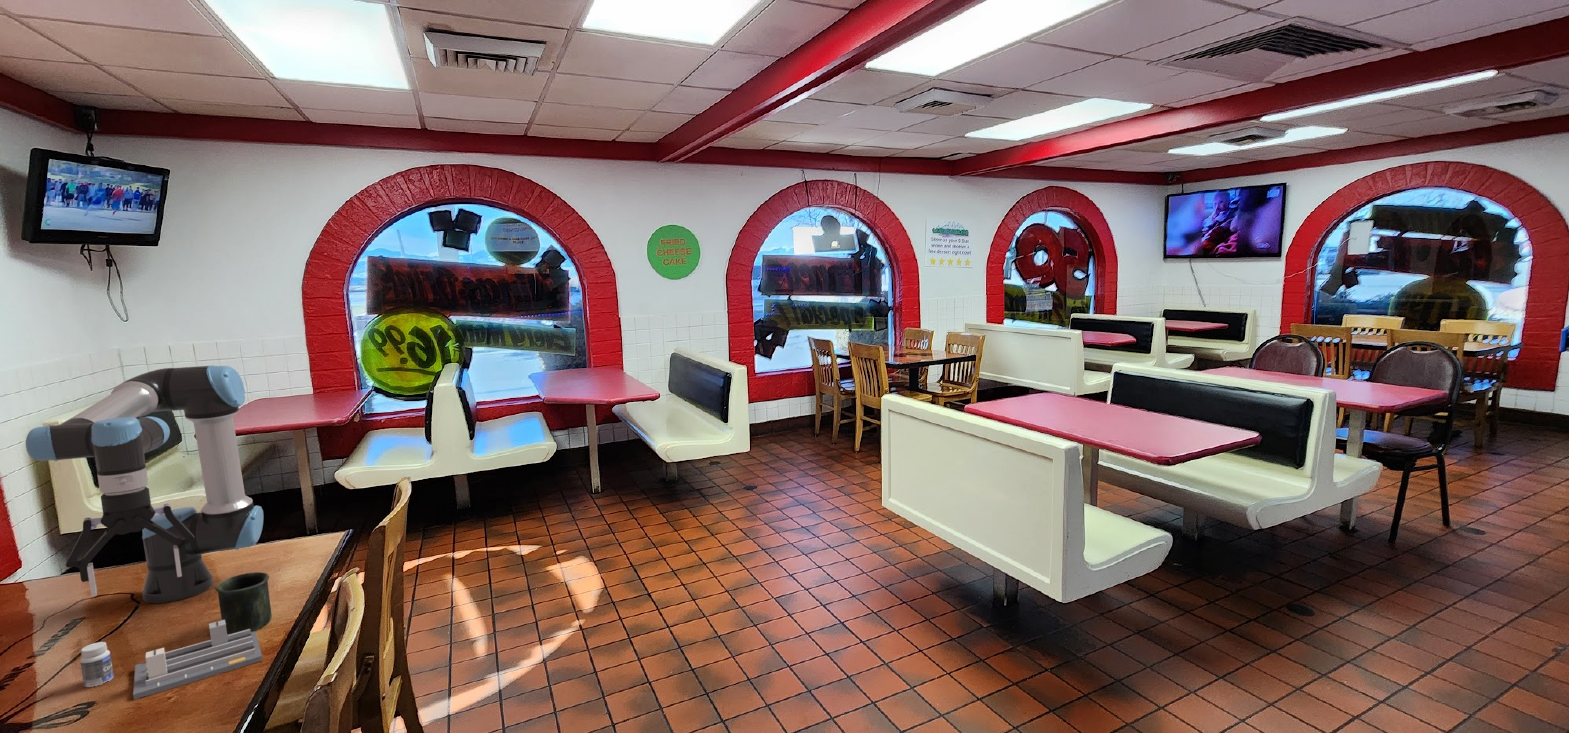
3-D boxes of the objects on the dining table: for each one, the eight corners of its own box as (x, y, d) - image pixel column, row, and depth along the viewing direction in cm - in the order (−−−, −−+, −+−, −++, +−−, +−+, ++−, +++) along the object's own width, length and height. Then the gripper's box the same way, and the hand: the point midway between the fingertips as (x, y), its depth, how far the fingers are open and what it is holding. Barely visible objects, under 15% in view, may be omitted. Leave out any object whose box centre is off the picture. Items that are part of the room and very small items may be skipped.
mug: (221, 641, 170) (215, 595, 168) (220, 619, 181) (214, 575, 179) (275, 626, 177) (270, 582, 175) (271, 606, 188) (266, 564, 186)
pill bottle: (110, 683, 153) (105, 648, 152) (81, 690, 150) (75, 654, 149) (116, 673, 157) (111, 638, 156) (87, 679, 154) (82, 644, 153)
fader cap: (149, 675, 153) (145, 652, 152) (167, 670, 155) (164, 647, 154) (149, 681, 151) (145, 657, 150) (167, 676, 153) (164, 652, 152)
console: (136, 669, 158) (131, 642, 157) (256, 635, 172) (252, 610, 171) (133, 699, 147) (129, 670, 146) (262, 660, 161) (259, 633, 160)
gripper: (37, 508, 136) (53, 609, 139) (202, 481, 153) (213, 572, 156) (41, 499, 141) (56, 597, 144) (199, 474, 158) (210, 562, 161)
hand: (138, 584), depth 150 cm, fingers open, 13 cm apart
